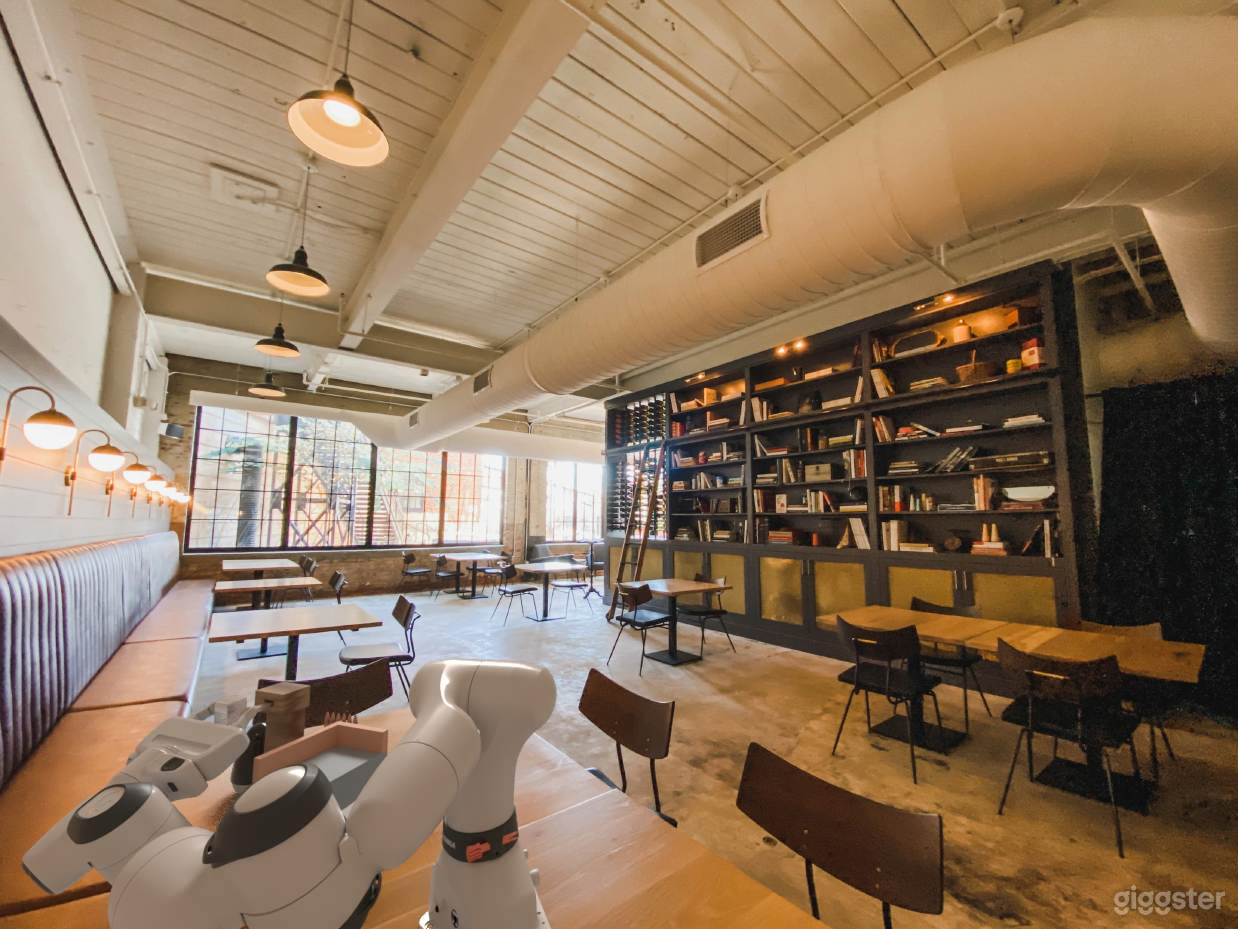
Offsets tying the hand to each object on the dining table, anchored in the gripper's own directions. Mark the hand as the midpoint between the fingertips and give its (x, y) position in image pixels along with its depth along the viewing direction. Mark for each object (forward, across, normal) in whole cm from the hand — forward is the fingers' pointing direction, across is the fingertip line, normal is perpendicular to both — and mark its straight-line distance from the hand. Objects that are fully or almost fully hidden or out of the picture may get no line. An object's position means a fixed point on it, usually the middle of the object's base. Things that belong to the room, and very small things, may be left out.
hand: (235, 706), depth 97 cm
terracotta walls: (+1, +15, -14) cm, 20 cm away
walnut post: (-6, 0, -29) cm, 29 cm away
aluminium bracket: (+3, 0, -4) cm, 5 cm away
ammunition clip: (+19, -15, -44) cm, 50 cm away
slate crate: (-8, +15, -28) cm, 33 cm away
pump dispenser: (+4, -21, -34) cm, 40 cm away
